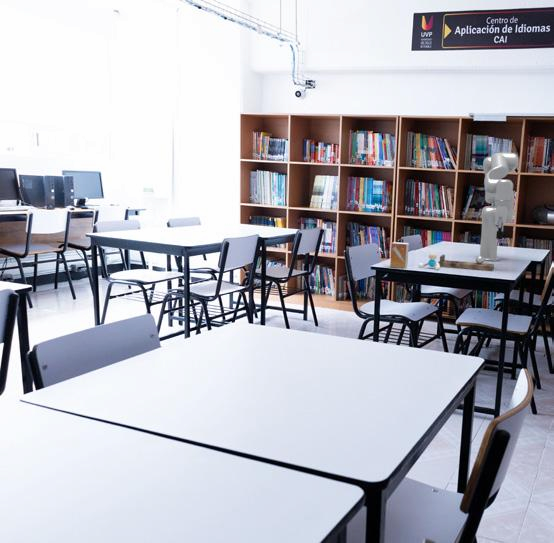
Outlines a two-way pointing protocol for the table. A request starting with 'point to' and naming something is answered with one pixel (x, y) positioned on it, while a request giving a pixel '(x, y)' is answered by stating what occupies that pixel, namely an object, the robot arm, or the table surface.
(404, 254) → the small box
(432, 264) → the molecule model
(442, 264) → the deck
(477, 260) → the ball
